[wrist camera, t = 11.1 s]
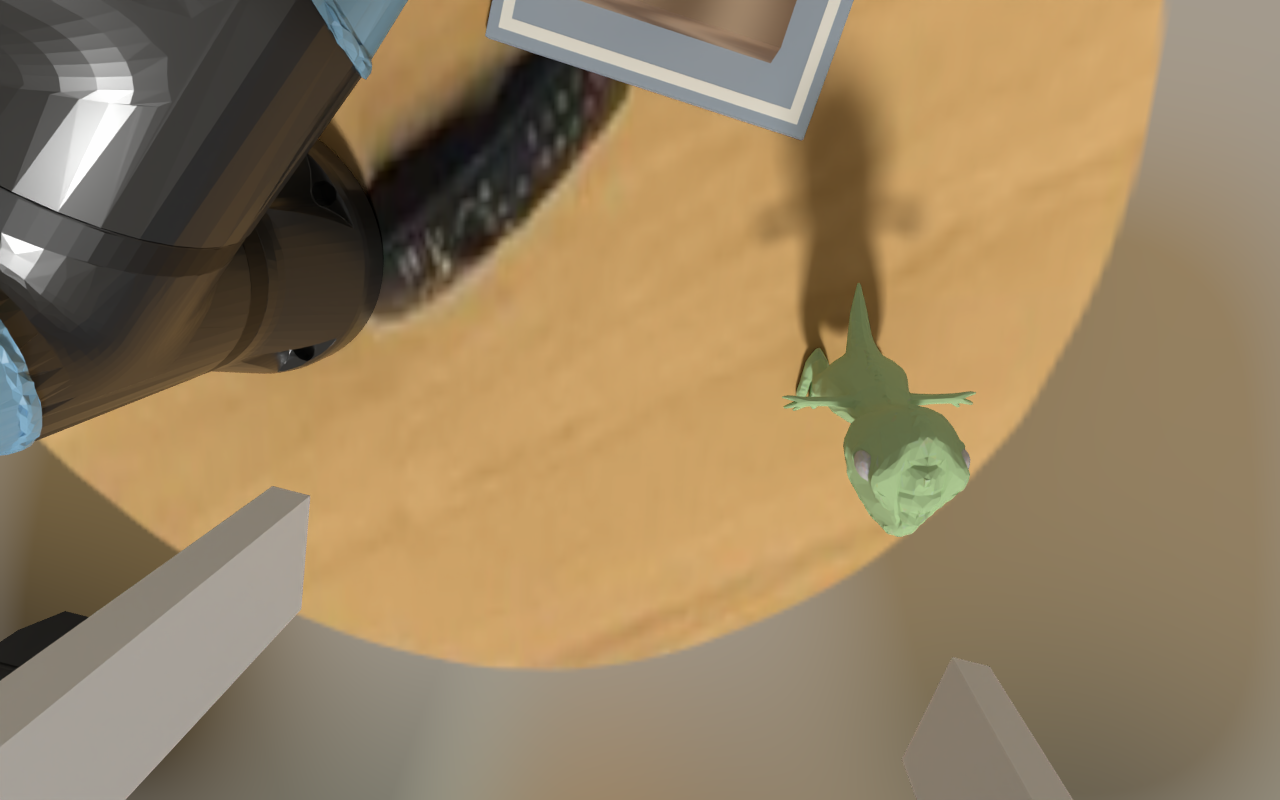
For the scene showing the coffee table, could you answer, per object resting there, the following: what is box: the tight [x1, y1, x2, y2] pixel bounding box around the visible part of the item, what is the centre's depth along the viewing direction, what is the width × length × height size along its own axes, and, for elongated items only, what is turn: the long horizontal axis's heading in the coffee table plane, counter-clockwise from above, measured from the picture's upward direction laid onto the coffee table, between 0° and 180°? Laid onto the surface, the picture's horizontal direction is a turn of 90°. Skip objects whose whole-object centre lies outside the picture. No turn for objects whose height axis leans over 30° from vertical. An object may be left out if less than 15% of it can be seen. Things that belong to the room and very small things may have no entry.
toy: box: [782, 283, 976, 537], centre depth 32 cm, size 7×8×15 cm
